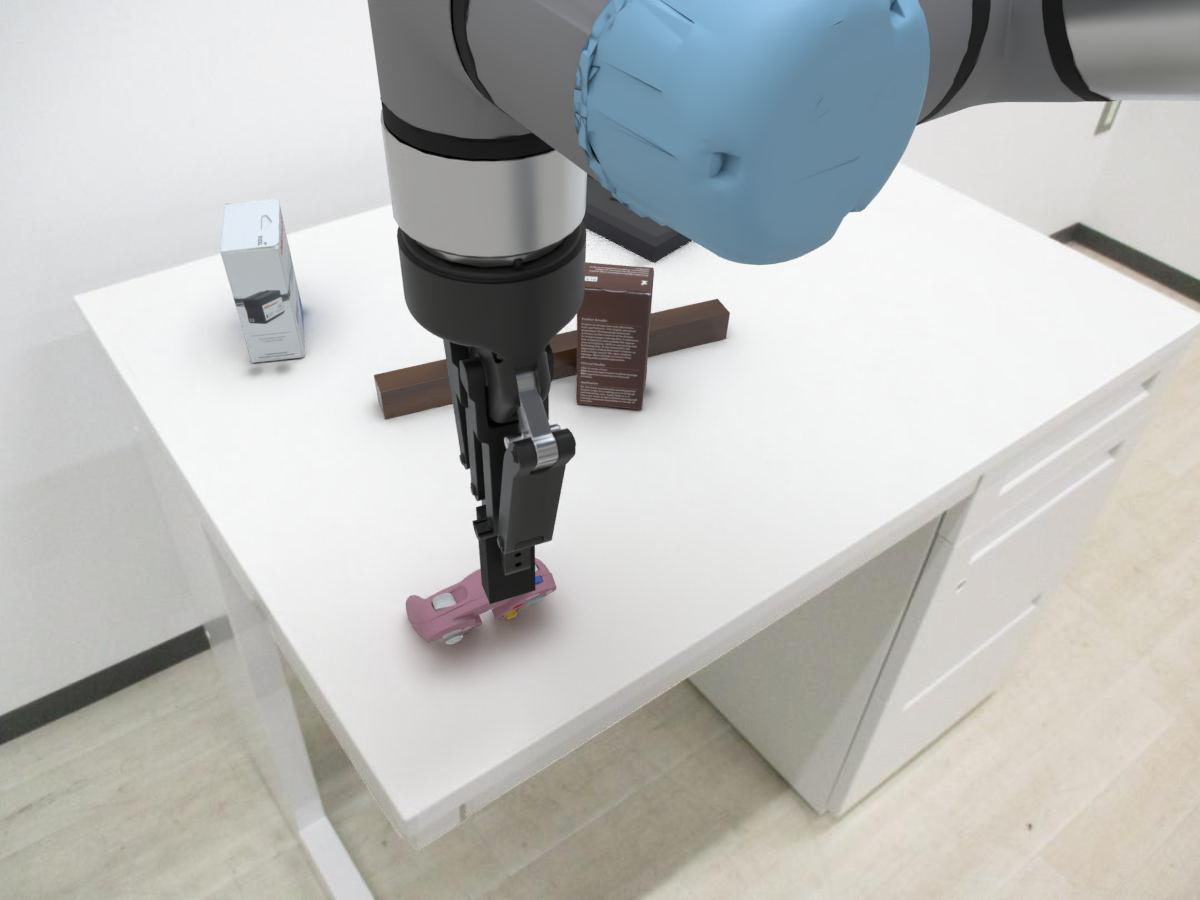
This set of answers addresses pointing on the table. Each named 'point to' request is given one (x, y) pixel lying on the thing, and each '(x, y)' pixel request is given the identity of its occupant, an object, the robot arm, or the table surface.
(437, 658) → the table surface
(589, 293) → the box
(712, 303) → the straight edge
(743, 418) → the table surface
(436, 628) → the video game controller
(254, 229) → the ink box
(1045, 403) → the table surface
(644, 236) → the picture frame
